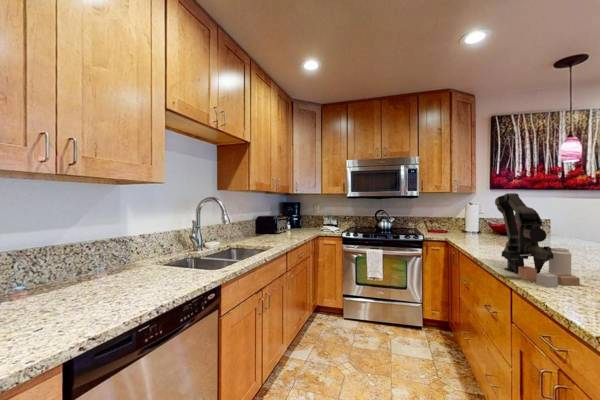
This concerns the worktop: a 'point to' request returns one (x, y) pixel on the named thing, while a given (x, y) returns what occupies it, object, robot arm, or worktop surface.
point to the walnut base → (567, 279)
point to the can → (560, 261)
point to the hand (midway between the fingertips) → (527, 273)
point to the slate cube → (547, 280)
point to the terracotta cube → (527, 272)
